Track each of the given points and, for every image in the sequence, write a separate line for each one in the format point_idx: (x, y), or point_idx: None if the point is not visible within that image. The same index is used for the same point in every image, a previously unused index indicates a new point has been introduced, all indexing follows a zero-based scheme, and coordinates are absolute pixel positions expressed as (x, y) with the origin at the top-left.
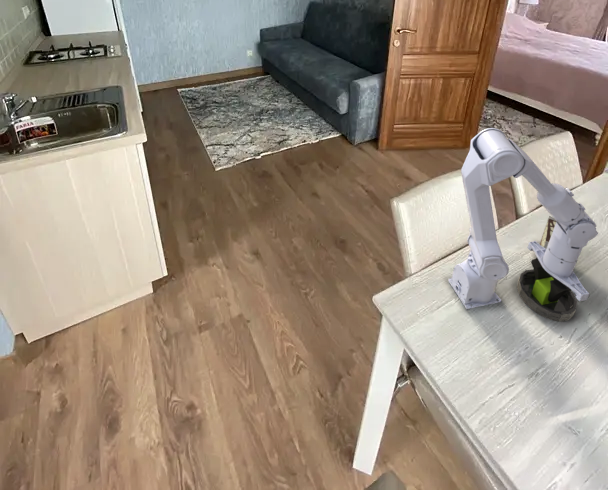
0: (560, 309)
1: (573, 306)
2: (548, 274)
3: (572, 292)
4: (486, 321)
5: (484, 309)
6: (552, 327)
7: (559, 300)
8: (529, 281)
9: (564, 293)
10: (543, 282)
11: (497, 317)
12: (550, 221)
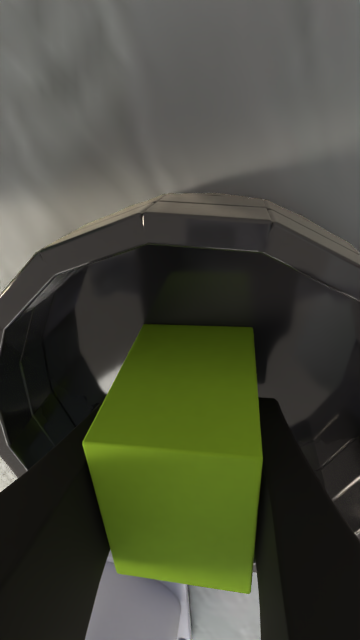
0: (313, 357)
1: None
2: (63, 532)
3: (271, 224)
4: (246, 625)
5: (200, 606)
6: None
7: (246, 301)
8: (72, 384)
9: (335, 517)
10: (148, 553)
11: (242, 597)
12: None
